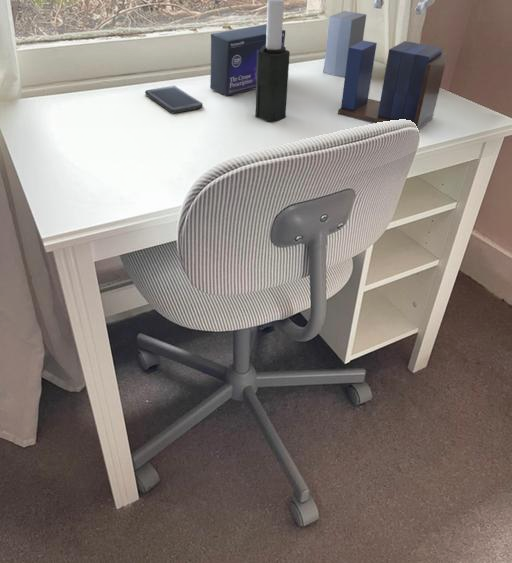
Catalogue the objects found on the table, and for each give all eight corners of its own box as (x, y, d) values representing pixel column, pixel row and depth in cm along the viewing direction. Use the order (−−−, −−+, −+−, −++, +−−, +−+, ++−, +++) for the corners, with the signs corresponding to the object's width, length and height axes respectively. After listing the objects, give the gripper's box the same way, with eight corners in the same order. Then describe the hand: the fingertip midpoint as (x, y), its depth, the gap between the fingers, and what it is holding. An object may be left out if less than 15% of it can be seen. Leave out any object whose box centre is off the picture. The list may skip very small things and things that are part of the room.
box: (228, 97, 118) (228, 39, 111) (209, 89, 122) (208, 33, 114) (283, 82, 127) (286, 28, 120) (263, 75, 131) (265, 22, 124)
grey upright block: (358, 69, 137) (366, 14, 129) (344, 77, 132) (352, 20, 124) (337, 65, 140) (344, 10, 132) (323, 72, 134) (329, 16, 126)
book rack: (432, 118, 112) (449, 47, 103) (415, 133, 105) (432, 58, 96) (358, 100, 119) (368, 33, 110) (337, 113, 112) (346, 42, 103)
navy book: (367, 101, 115) (376, 42, 108) (353, 111, 111) (362, 50, 103) (354, 98, 117) (363, 40, 109) (340, 107, 112) (348, 47, 105)
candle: (252, 116, 110) (256, -23, 94) (269, 110, 113) (275, -26, 97) (271, 123, 107) (277, -19, 92) (287, 116, 110) (297, -22, 94)
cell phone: (174, 88, 121) (173, 85, 121) (204, 107, 112) (204, 104, 112) (144, 93, 118) (143, 90, 117) (172, 113, 109) (172, 110, 108)
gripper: (375, -64, 116) (349, -7, 115) (470, -56, 107) (443, 5, 106) (380, -42, 121) (355, 12, 121) (470, -33, 113) (444, 26, 112)
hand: (397, 9), depth 114 cm, fingers open, 8 cm apart
